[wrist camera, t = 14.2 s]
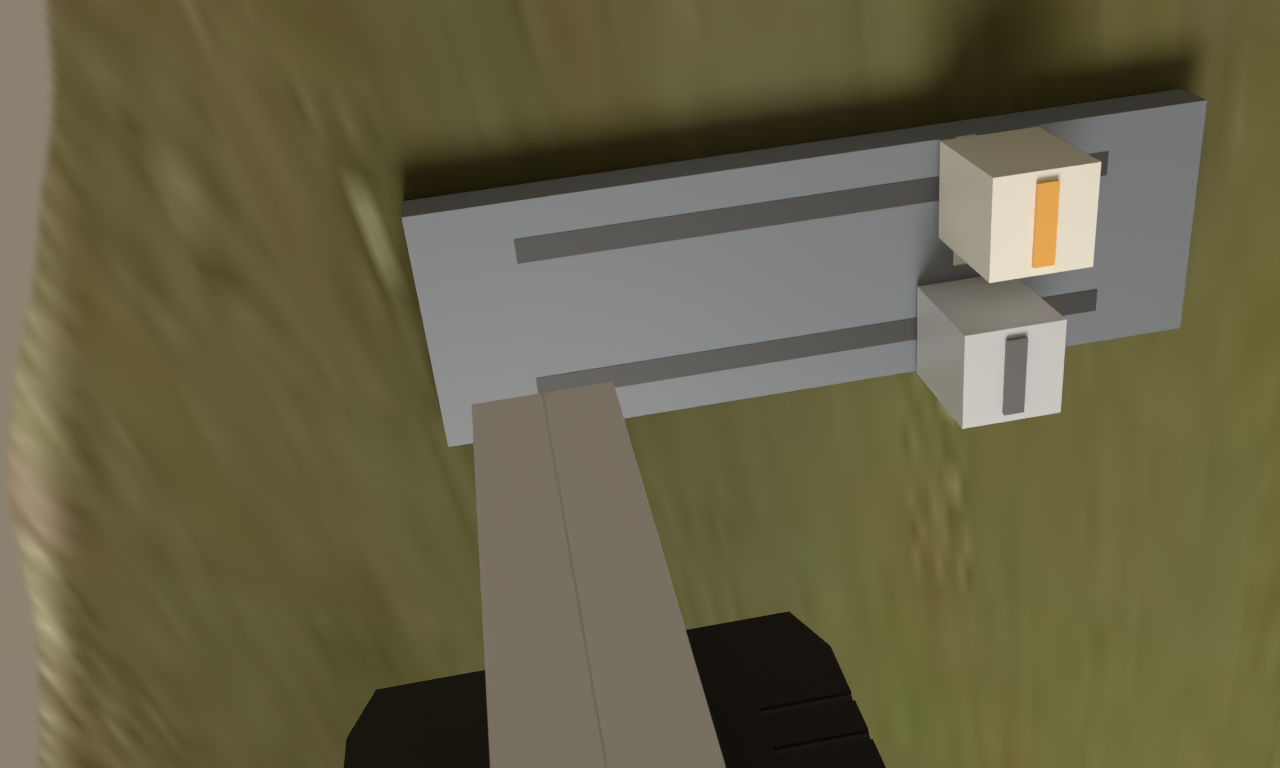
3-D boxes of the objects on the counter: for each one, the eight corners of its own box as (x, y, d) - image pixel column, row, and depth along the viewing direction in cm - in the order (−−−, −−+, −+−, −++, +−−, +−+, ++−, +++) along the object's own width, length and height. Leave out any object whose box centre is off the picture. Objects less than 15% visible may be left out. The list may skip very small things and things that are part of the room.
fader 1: (939, 140, 46) (995, 179, 41) (1038, 126, 46) (1104, 163, 42) (938, 237, 48) (991, 285, 43) (1033, 223, 48) (1095, 268, 44)
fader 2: (917, 286, 49) (967, 338, 44) (1010, 271, 49) (1069, 321, 44) (916, 372, 51) (964, 431, 46) (1006, 358, 51) (1062, 414, 46)
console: (402, 201, 46) (401, 218, 44) (1179, 89, 49) (1207, 100, 47) (448, 424, 51) (448, 447, 49) (1155, 309, 54) (1180, 328, 52)
